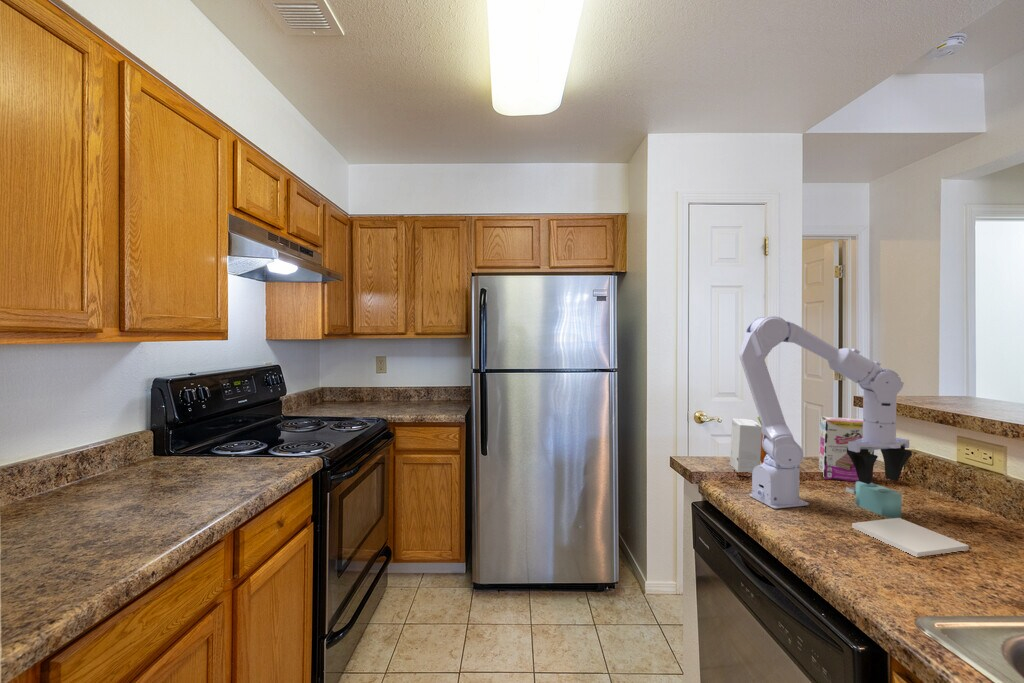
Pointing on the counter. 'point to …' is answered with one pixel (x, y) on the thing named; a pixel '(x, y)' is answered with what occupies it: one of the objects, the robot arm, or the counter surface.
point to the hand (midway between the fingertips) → (878, 481)
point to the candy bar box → (839, 447)
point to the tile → (909, 537)
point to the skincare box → (745, 444)
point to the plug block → (877, 499)
